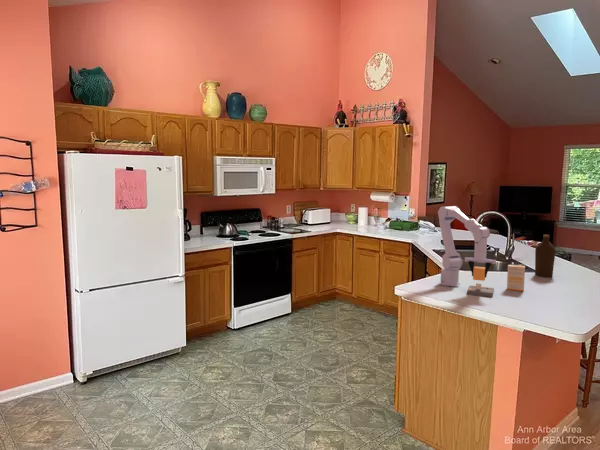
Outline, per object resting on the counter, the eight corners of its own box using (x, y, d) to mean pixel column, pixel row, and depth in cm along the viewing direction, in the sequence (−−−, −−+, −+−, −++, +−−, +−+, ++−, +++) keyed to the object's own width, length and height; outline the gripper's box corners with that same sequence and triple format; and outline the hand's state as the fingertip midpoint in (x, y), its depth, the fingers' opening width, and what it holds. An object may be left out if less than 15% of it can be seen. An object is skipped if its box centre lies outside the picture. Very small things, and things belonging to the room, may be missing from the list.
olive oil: (549, 278, 256) (552, 236, 253) (530, 275, 264) (533, 234, 261) (556, 275, 263) (559, 235, 260) (538, 272, 271) (540, 233, 268)
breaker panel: (467, 294, 224) (467, 289, 223) (469, 289, 233) (469, 284, 233) (492, 297, 218) (492, 292, 218) (493, 291, 228) (494, 286, 228)
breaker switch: (475, 289, 224) (476, 284, 224) (476, 288, 226) (476, 283, 226) (480, 289, 223) (481, 284, 223) (481, 288, 225) (481, 283, 225)
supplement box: (524, 289, 232) (525, 265, 231) (523, 291, 228) (525, 267, 226) (507, 287, 236) (508, 264, 235) (506, 289, 232) (507, 265, 231)
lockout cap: (473, 279, 223) (473, 268, 222) (474, 277, 228) (474, 266, 227) (484, 280, 220) (484, 269, 220) (485, 278, 225) (485, 267, 225)
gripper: (464, 250, 222) (463, 276, 223) (495, 253, 215) (494, 279, 217) (466, 248, 228) (465, 273, 230) (496, 250, 221) (494, 276, 223)
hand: (479, 276), depth 224 cm, fingers closed on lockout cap, 5 cm apart
